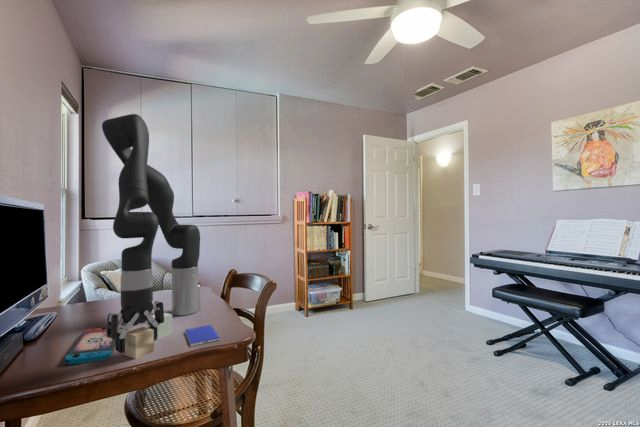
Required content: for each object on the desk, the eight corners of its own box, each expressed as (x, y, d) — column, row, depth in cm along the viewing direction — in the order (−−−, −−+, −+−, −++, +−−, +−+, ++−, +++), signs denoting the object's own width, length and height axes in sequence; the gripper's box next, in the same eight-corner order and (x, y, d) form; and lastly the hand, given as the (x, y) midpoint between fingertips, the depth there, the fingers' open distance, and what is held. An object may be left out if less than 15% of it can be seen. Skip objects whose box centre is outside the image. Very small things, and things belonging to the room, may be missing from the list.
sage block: (162, 330, 103) (161, 312, 103) (172, 333, 100) (172, 314, 100) (147, 336, 98) (147, 316, 98) (157, 339, 96) (157, 319, 96)
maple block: (142, 348, 90) (142, 326, 90) (153, 351, 87) (153, 329, 87) (124, 355, 85) (124, 332, 85) (135, 359, 83) (135, 335, 83)
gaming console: (110, 353, 83) (62, 358, 79) (109, 363, 83) (61, 368, 79) (122, 324, 105) (85, 327, 101) (121, 332, 105) (84, 335, 100)
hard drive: (184, 329, 101) (190, 343, 90) (211, 324, 105) (220, 337, 94) (185, 334, 101) (190, 348, 90) (211, 329, 105) (220, 342, 94)
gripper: (153, 279, 94) (153, 335, 94) (100, 290, 82) (101, 353, 82) (169, 282, 91) (170, 339, 90) (117, 293, 78) (117, 359, 78)
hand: (137, 346), depth 86 cm, fingers open, 8 cm apart
